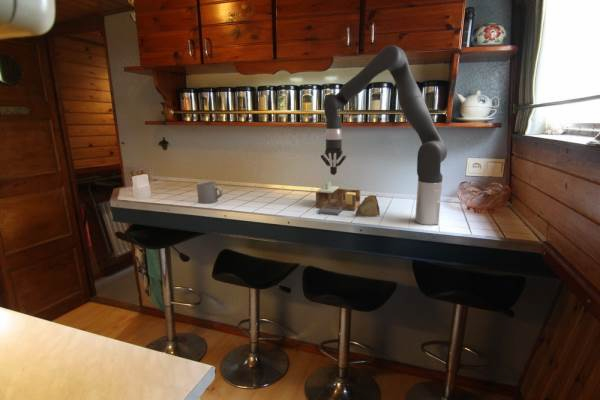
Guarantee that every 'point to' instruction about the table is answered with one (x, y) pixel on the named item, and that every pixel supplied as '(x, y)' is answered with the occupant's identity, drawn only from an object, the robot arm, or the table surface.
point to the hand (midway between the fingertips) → (333, 174)
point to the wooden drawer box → (338, 199)
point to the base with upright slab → (141, 186)
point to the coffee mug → (208, 192)
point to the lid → (328, 188)
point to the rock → (368, 207)
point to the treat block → (349, 197)
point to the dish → (330, 210)
